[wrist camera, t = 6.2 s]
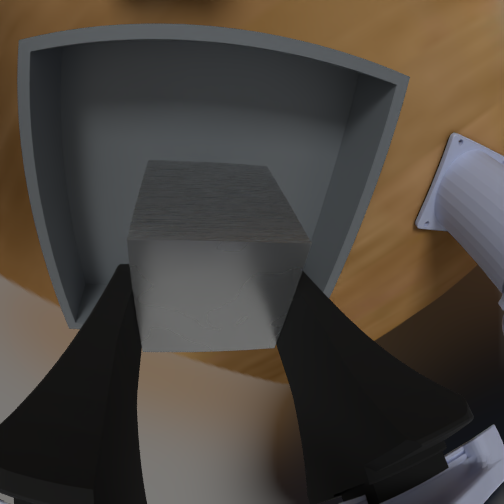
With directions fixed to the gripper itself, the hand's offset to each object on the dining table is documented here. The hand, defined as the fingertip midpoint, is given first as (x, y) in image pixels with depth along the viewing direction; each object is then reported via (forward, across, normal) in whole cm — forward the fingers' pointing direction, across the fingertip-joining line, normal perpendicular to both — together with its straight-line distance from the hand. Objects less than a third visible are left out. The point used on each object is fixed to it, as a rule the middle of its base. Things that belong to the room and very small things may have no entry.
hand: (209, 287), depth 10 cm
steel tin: (+4, 0, -1) cm, 4 cm away
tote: (+8, 0, 0) cm, 8 cm away
